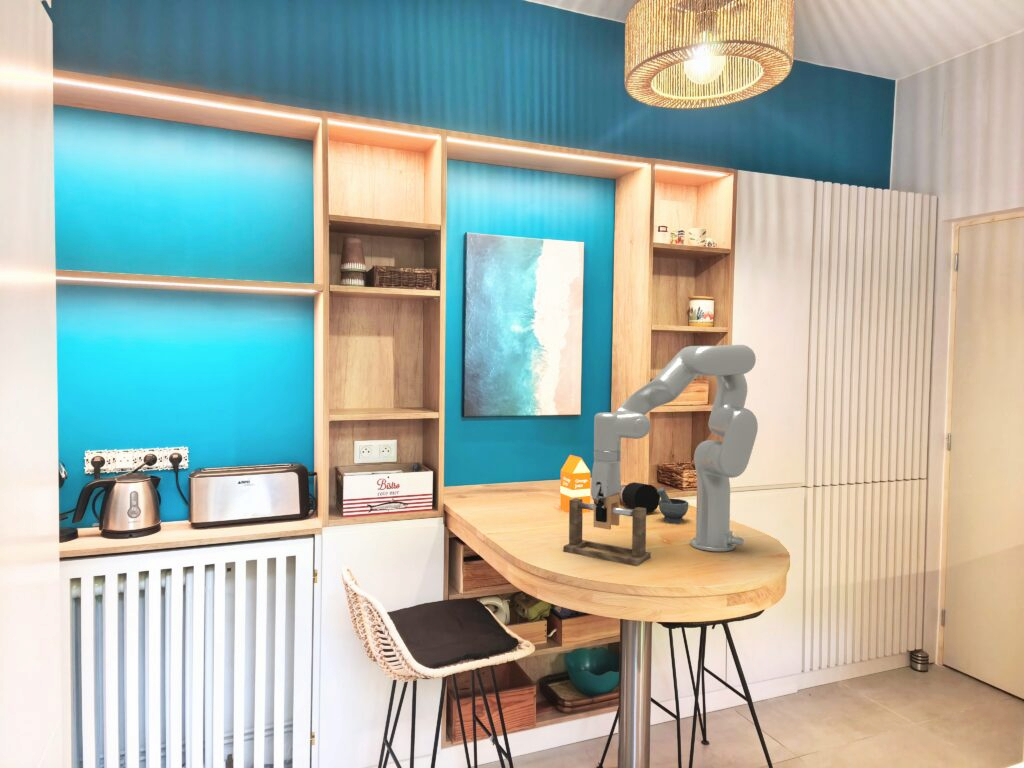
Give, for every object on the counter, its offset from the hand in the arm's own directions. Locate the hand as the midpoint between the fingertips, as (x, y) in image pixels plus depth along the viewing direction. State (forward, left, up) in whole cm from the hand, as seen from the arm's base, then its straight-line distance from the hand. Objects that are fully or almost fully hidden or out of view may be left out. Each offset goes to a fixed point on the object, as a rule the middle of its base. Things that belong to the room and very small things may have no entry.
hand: (606, 518), depth 186 cm
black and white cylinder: (+23, -61, -11) cm, 66 cm away
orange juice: (+34, -42, -11) cm, 55 cm away
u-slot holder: (0, 0, -2) cm, 2 cm away
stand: (0, 0, -10) cm, 10 cm away
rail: (0, 0, +2) cm, 2 cm away
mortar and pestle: (-1, -47, -11) cm, 48 cm away
